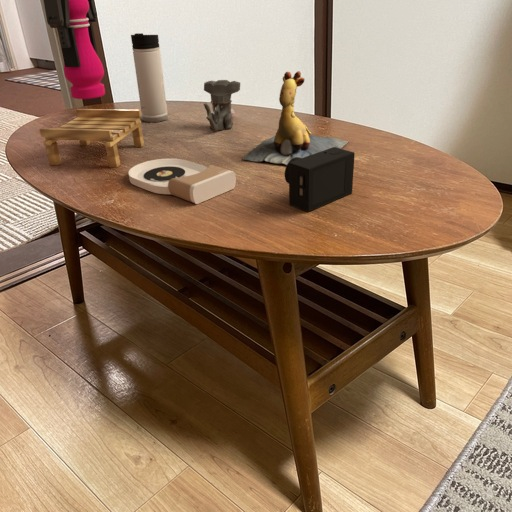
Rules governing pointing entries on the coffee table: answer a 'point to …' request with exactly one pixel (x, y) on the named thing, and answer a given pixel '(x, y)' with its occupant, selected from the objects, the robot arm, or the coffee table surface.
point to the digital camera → (320, 178)
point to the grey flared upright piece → (220, 103)
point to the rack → (96, 132)
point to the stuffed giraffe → (291, 131)
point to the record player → (182, 179)
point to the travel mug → (149, 77)
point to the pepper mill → (84, 56)
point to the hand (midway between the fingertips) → (82, 63)
